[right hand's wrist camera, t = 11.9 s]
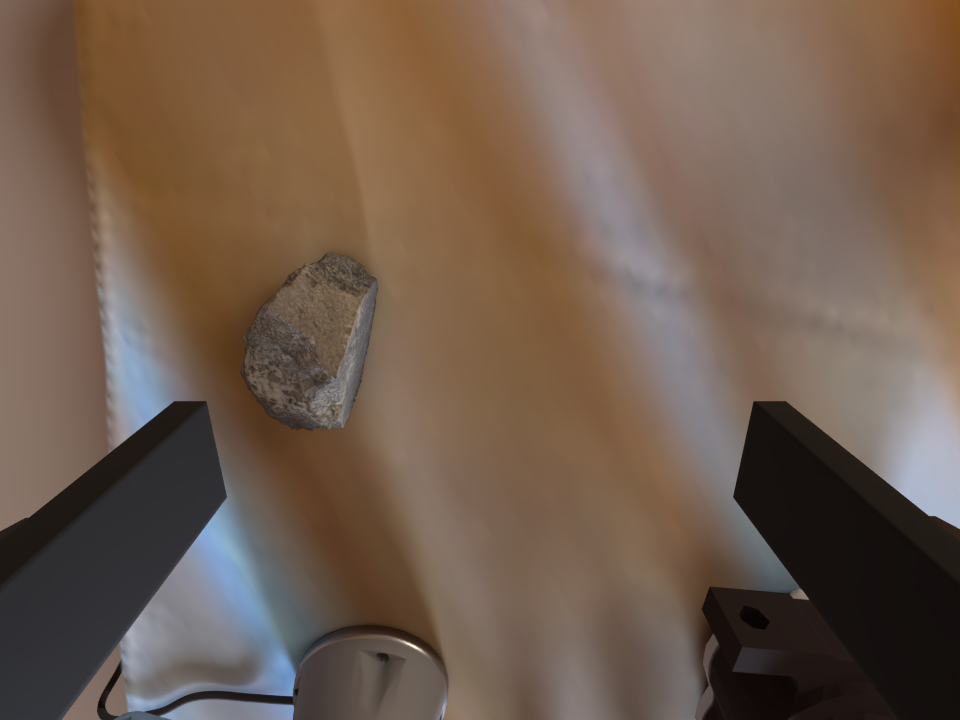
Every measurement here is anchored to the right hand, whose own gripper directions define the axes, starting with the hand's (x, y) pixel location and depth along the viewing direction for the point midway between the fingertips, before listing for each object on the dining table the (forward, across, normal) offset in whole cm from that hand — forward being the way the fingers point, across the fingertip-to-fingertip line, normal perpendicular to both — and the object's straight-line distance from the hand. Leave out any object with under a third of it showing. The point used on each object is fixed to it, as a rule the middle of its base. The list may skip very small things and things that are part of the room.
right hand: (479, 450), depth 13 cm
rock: (+26, +13, +6) cm, 30 cm away
